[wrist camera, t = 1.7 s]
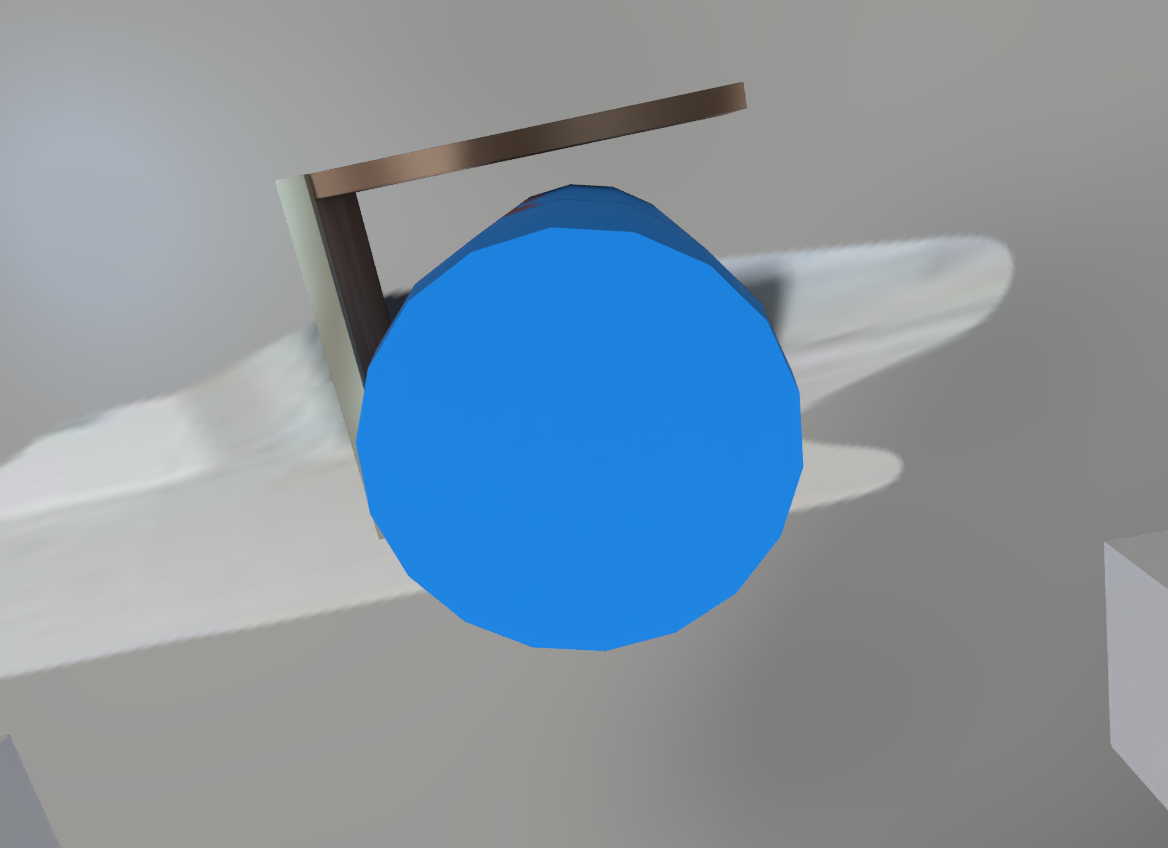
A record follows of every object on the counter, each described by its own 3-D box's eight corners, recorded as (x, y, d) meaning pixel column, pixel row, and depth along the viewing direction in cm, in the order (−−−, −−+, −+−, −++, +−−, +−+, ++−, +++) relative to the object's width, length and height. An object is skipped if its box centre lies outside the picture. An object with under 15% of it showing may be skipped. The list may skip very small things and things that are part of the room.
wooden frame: (718, 93, 42) (745, 80, 35) (765, 413, 46) (798, 461, 39) (328, 176, 43) (274, 180, 36) (411, 480, 48) (379, 539, 40)
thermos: (727, 340, 45) (881, 551, 21) (541, 431, 47) (490, 722, 23) (634, 141, 43) (690, 125, 19) (438, 243, 44) (259, 351, 20)
